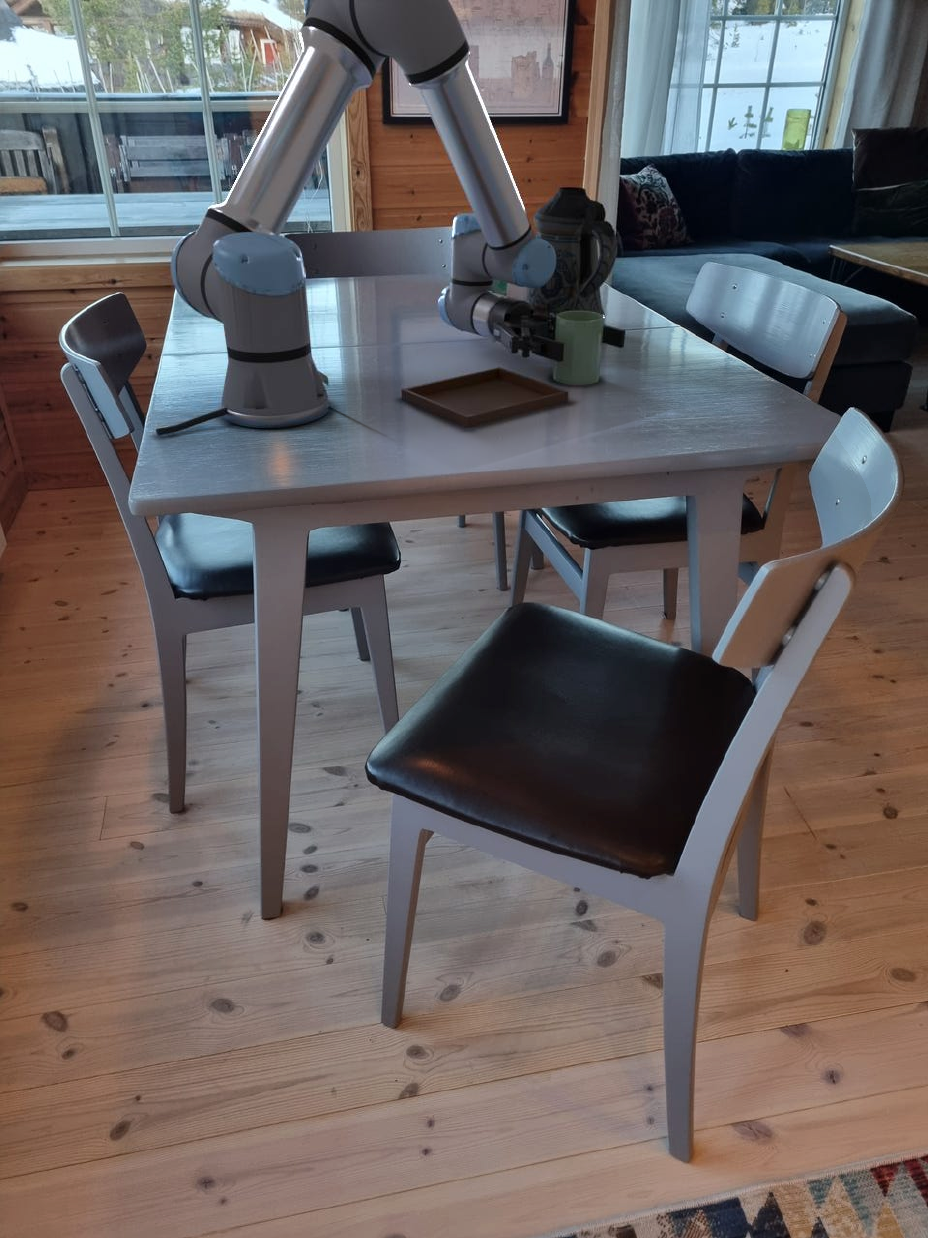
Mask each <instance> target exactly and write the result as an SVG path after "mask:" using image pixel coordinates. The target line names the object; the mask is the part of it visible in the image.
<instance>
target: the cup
mask: <svg viewBox="0 0 928 1238" xmlns="http://www.w3.org/2000/svg"><path fill="white" fill-rule="evenodd" d="M603 325H605V320H604V315H602V314H600V313H596V312H590V311H565V312H560V313H558V314H557V315H556V331H555V341H558V342H562V343H564V353H563V361H561V362H558V361H555V360H553V367H552V378H553V380H554V381H556V382H558V383H561V384H565V385H571V386H572V385H574V386H584V385H592V384H594V383H599V381H600V372H601V358H602V348H603V347H602V346H603V343H602V337H603Z"/></svg>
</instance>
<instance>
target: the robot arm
mask: <svg viewBox="0 0 928 1238" xmlns="http://www.w3.org/2000/svg"><path fill="white" fill-rule="evenodd" d="M303 4H304V5H303V7H304V8H303V12H304V13H305V20H304V23H303V24H302V26H301V28H300V29H299V33H298V35H299V40H300V43H301V47H302V52H301V54H300V56H299V58H298V60H297V62H296V63H295V65H294V68H293V69H292V71H291V73H290V76H289V77H288V79H287V81H286V83H285V85H284V87H283V89H282V91H281V92H280V95H279V97H278V99H277V101H276V102H275V104H274V106H273V108H272V110H271V112H270V114H269V116H268V118H267V120H266V122H265V124H264V126H263V127H262V130H261V132H260V134H259V135H258V137H257V139H256V141H255V143H254V145H253V147H252V149H251V151H250V153H249V155H248V157H247V159H246V160H245V163H244V164H243V166H242V168H241V170H240V172H239V174H238V175H237V178H236V180H235V182H234V184H233V186H232V188H231V190H230V191H229V193H228V196H227V197H226V199H225V201H224V202H222V203H220V204H215V205H211V206H209V207H208V209H207V211H206V212H205V215H204V216H203V218H202V220H201V222H200V224H199V227H198V228H197V230H193V231H191V232H189V233H187V234H186V235H184V236H183V237H182V238H181V239H180V240H179V241H178V243H176V245H175V247H174V249H173V252H172V254H171V259H170V275H171V280H172V284H173V286H174V288H175V290H176V292H177V294H178V295H179V297H180V298H181V300H182V301H183V302H184V303H185V304H187V305H188V306H189V307H190V308H191V309H192V310H193V311H195V312H196V313H198V314H200V315H201V316H203V317H205V318H207V319H212V320H214V321H217V322H219V323H220V324H223V331H224V338H225V339H224V340H225V346H226V352H227V361H228V362H227V368H226V373H225V379H224V384H223V385H224V386H223V390H222V394H221V395H222V396H221V401H220V403H221V408H220V409H217V410H214V411H211V412H208V413H204V414H202V415H199V416H196V417H194V418H190V419H188V420H186V421H183V422H180V423H176V424H173V425H170V426H163V427H159V428H155V433H156V435H157V436H158V437H159V436H164V435H170V434H174V433H178V432H181V431H184V430H187V429H190V428H193V427H194V426H198V425H200V424H202V423H206V422H209V421H211V420H215V419H218V418H220V417H223V418H224V419H225V420H226V421H228V422H230V423H232V424H234V425H237V426H242V427H245V428H246V427H248V428H254V429H255V428H256V429H279V428H288V427H293V426H295V427H296V426H301V425H304V424H309V423H311V422H314V421H316V420H319V419H321V418H322V417H324V416H325V415H326V414H327V413H329V410H330V403H329V395H328V392H327V390H326V387H325V385H326V386H328V387H329V386H330V385H329V377H328V376H327V375H325V373H323V372H321V371H320V370H318V368H317V365H316V364H315V360H314V358H313V353H312V343H311V330H310V317H309V307H308V295H307V294H308V293H307V284H306V283H307V282H306V280H307V272H306V268H305V263H304V259H303V254H302V250H301V248H300V247H299V246H298V244H296V243H295V241H293V240H291V239H290V238H287V237H286V236H282V235H281V233H282V231H283V229H284V227H285V226H286V224H287V222H288V220H289V217H290V216H291V214H292V212H293V210H294V209H295V207H296V204H297V203H298V201H299V200H300V199H299V198H300V197H301V195H302V193H303V191H304V189H305V188H306V186H307V184H308V182H309V180H310V178H311V176H312V174H313V172H314V170H315V169H316V167H317V164H318V162H319V161H320V159H321V157H322V155H323V153H324V151H325V149H326V147H327V145H328V143H329V142H330V140H331V138H332V136H333V134H334V133H335V131H336V128H337V126H338V124H339V123H340V121H341V119H342V117H343V115H344V113H345V112H346V110H347V107H348V105H349V104H350V102H351V100H352V98H353V96H354V94H355V92H357V91H359V90H366V89H369V88H370V87H371V85H373V84H372V83H373V82H374V81H375V78H376V76H377V74H378V73H379V70H380V69H381V67H382V65H383V63H384V61H385V59H386V58H388V59H389V58H391V59H392V60H394V61H395V63H397V65H398V67H399V68H400V69H401V71H402V73H403V75H404V77H405V79H406V82H407V84H408V85H409V86H411V87H412V88H416V89H418V91H419V93H420V96H421V98H422V100H423V102H424V104H425V106H426V108H427V109H426V110H427V111H428V113H429V115H430V118H431V120H432V122H433V125H434V127H435V129H436V131H437V133H438V135H439V138H440V140H441V143H442V144H443V147H444V149H445V151H446V154H447V156H448V158H449V161H450V163H451V165H452V167H453V169H454V172H455V174H456V176H457V178H458V181H459V183H460V186H461V187H462V190H463V192H464V194H465V196H466V199H467V201H468V203H469V205H470V207H471V210H472V212H473V213H469V212H468V213H466V212H465V213H459V214H457V215H455V216H454V217H453V221H452V222H453V223H452V236H451V238H450V242H451V275H450V276H451V277H450V283H449V284H448V285H446V287H444V289H443V290H442V291H441V295H439V296H440V297H439V298H438V302H437V309H438V314H439V316H440V318H441V319H442V321H443V322H444V323H446V324H447V325H448V326H451V327H453V328H455V329H456V330H459V331H461V332H467V333H470V334H474V335H477V336H480V337H483V338H487V339H489V340H491V342H492V343H496V342H499V343H501V344H502V345H503V347H504V348H506V350H508V352H510V354H513V355H515V354H518V353H519V351H521V357H522V358H530V354H534V355H537V356H540V357H543V358H546V359H549V360H551V361H554V360H555V361H558V362H561V361H563V353H564V343H562V342H558V341H555V340H552V339H548V338H555V331H556V315H557V313H550V316H547V315H543V314H539V313H535V312H534V310H533V308H532V307H531V305H530V304H529V303H527V302H525V301H523V300H522V299H519V298H518V299H517V298H516V297H515V298H514V297H511V296H508V295H506V296H504V295H500V294H496V293H492V286H493V279H496V280H500V281H503V282H507V284H511V285H514V286H517V287H519V288H527V287H528V288H539V287H541V286H543V285H545V284H546V283H547V282H548V281H549V280H550V278H551V277H552V275H553V273H554V270H555V267H556V253H555V250H554V248H553V246H552V245H551V244H550V243H549V242H547V241H545V240H543V239H542V238H538V237H537V238H536V234H535V231H534V229H533V226H532V225H531V221H530V219H529V217H528V213H527V211H526V209H525V206H524V204H523V200H522V199H521V196H520V193H519V190H518V188H517V186H516V183H515V180H514V178H513V175H512V173H511V170H510V167H509V165H508V162H507V160H506V157H505V155H504V152H503V150H502V147H501V145H500V141H499V139H498V137H497V134H496V132H495V131H496V130H495V129H494V127H493V124H492V122H491V119H490V116H489V114H488V111H487V109H486V106H485V103H484V101H483V98H482V96H481V93H480V91H479V88H478V86H477V83H476V81H475V78H474V75H473V73H472V70H471V66H469V62H468V60H469V57H470V53H471V47H470V45H469V42H468V40H467V36H466V34H465V32H464V29H463V27H462V24H461V21H460V20H459V17H458V14H457V13H456V11H455V10H454V8H453V5H452V4H451V2H450V0H304V3H303ZM550 329H552V330H553V333H552V334H551V333H549V332H550ZM625 338H626V329H622V328H619V327H615V326H612V325H607V324H604V325H603V337H602V344H605V345H609V346H612V347H615V348H620V349H622V348H623V349H624V347H625ZM324 384H325V385H324Z"/></svg>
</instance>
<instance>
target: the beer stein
mask: <svg viewBox="0 0 928 1238" xmlns="http://www.w3.org/2000/svg"><path fill="white" fill-rule="evenodd" d="M606 213H607V212H606V208H605V206H604V204H603V203H601V202H599V201H598V200H593V199H590V197H589V196H588V195H587V191H586V188H585V187H578V186H575V187H574V186H563V187H559V188H558V190H557V192H556V193H555V194H554V196H552V197H551V198H550V200H548V201H547V202H546V203H544V205H542V206H541V207H540V208H538V209H537V211H536V212H535V213H534V215H533V225H534V227H535V229H536V234H535V236H536V238H537V237H538V238H542V239H543V240H545V241H547V242H549V243H550V244H551V245H552V246H553V248H554V250H555V253H556V267H555V270H554V273H553V275H552V277H551V278H550V280H549V281H548V282H547V283H546V284H545V285H543V286H541V287H539V288H528V287H526V290H525V293H524V297H523V300H522V301H525V302H527V303H529V304H530V305H531V307H532V308H533V310H534V312H535V313H539V314H543V315H547V316H550V313H557V314H558V313H560V312H565V311H590V312H596V313H600V314H602V315H604V321H605V318H606V314H605V310H604V308H603V307H604V306H603V303H602V296H601V287H602V286H603V285H604V283H606V281H607V280H608V278H609V276H610V274H611V272H612V271H613V269H614V265H615V262H616V259H617V255H618V240H617V236H616V233H615V229H614V228H613V225H612V224H611V222H609V221H608V220H606V216H607V215H606ZM598 246H599V247H598ZM598 250H599V251H598ZM549 333H551V334H552V333H553V330H552V329H550V332H549ZM548 339H552V340H555V338H548Z"/></svg>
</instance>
